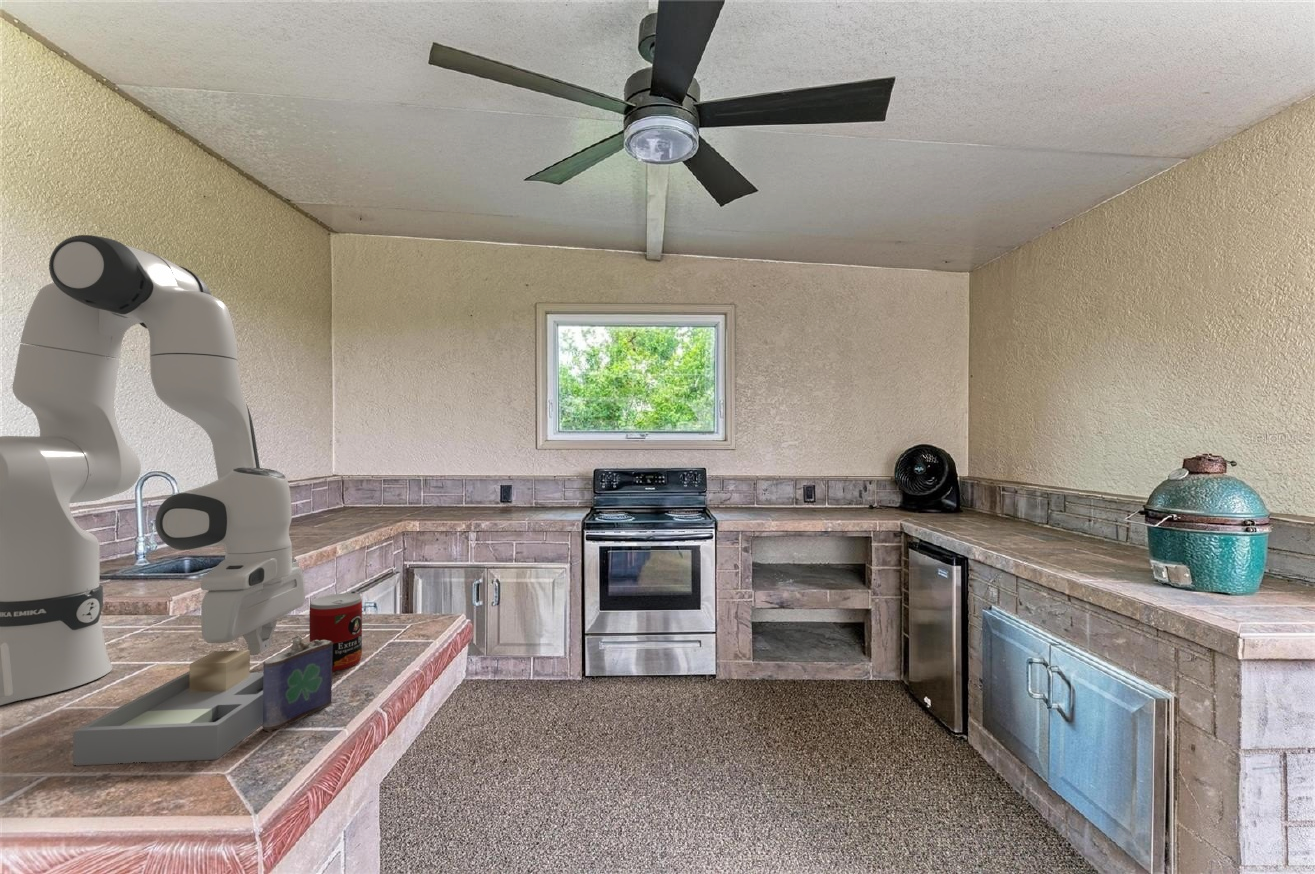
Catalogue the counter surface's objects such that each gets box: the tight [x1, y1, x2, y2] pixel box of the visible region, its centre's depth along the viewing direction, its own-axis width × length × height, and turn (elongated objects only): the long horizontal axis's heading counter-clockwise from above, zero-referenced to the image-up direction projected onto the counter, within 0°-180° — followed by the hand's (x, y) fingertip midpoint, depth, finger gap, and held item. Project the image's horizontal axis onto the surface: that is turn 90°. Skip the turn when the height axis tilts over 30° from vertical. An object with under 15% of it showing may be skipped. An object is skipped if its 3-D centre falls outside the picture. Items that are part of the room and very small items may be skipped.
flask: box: [261, 635, 333, 733], centre depth 76 cm, size 9×3×11 cm, turn 157°
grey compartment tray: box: [72, 670, 264, 767], centre depth 75 cm, size 16×21×4 cm
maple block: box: [189, 649, 251, 692], centre depth 81 cm, size 5×5×4 cm
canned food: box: [308, 592, 363, 672], centre depth 94 cm, size 8×8×11 cm
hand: (259, 651), depth 90 cm, fingers closed
